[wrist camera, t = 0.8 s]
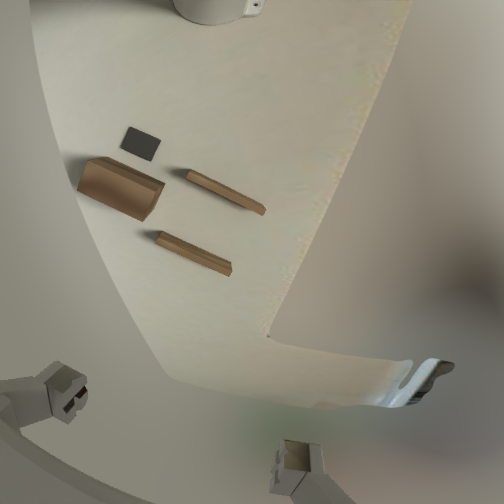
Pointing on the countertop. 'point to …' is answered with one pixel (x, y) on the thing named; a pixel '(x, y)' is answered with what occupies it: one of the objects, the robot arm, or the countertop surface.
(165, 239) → the channel
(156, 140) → the mat
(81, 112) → the countertop surface
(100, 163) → the walnut block
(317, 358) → the countertop surface
